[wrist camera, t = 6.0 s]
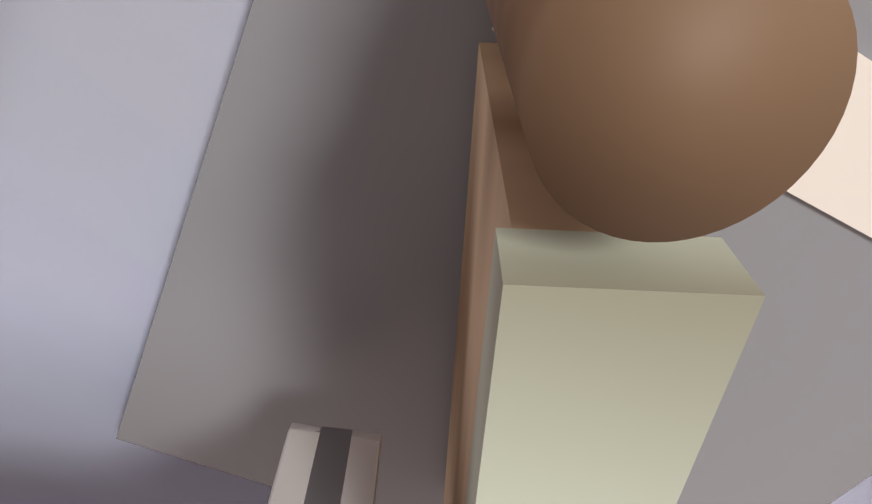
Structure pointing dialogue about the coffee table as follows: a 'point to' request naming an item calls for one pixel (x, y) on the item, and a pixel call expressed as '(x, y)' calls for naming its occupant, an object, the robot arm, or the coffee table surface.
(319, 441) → the robot arm
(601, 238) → the fence gate
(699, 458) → the card
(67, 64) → the coffee table surface
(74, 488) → the coffee table surface
